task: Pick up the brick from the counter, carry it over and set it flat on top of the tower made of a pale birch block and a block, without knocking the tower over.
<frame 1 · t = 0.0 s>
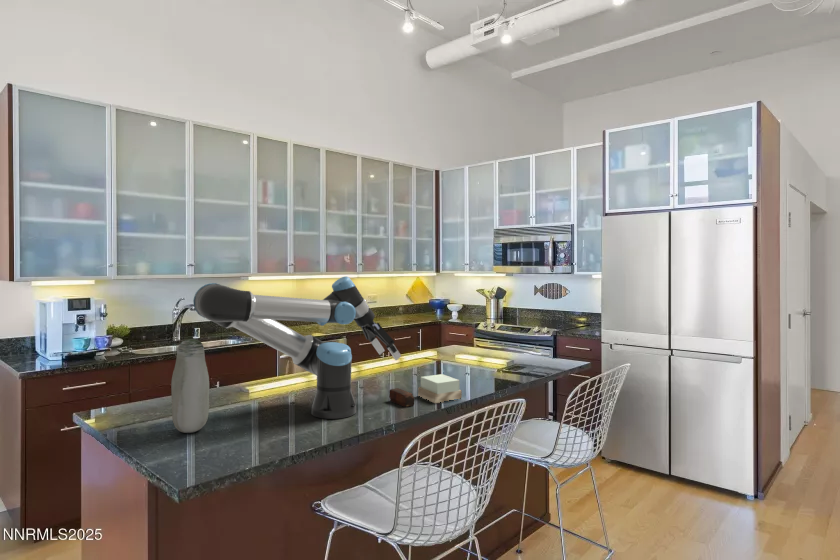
hand: (390, 355, 204), 15 cm above the table, tool tilted 35°, fingers open, 13 cm apart
base block: (439, 399, 200), on the table, touching top block
brick: (401, 404, 191), on the table
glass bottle: (190, 432, 157), on the table
top block: (439, 388, 200), point 3 cm above the table, touching base block
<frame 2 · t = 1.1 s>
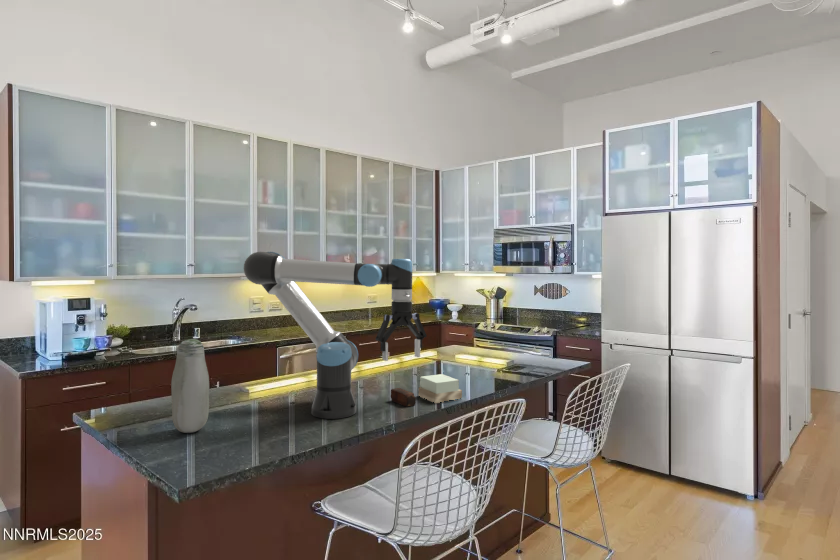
hand: (401, 358, 191), 17 cm above the table, tool pointing down, fingers open, 13 cm apart
nothing on the table moved.
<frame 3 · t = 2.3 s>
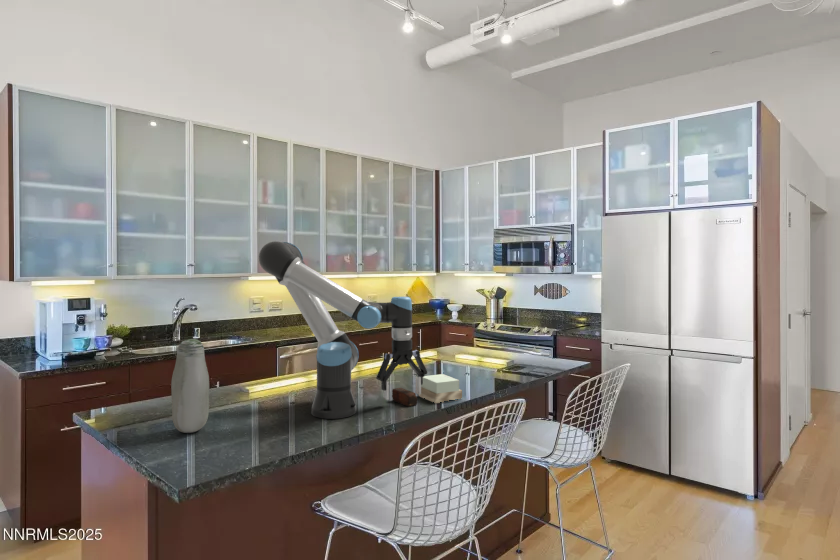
hand: (402, 396, 191), 3 cm above the table, tool pointing down, fingers open, 13 cm apart
base block: (440, 398, 200), on the table
top block: (439, 388, 200), point 3 cm above the table
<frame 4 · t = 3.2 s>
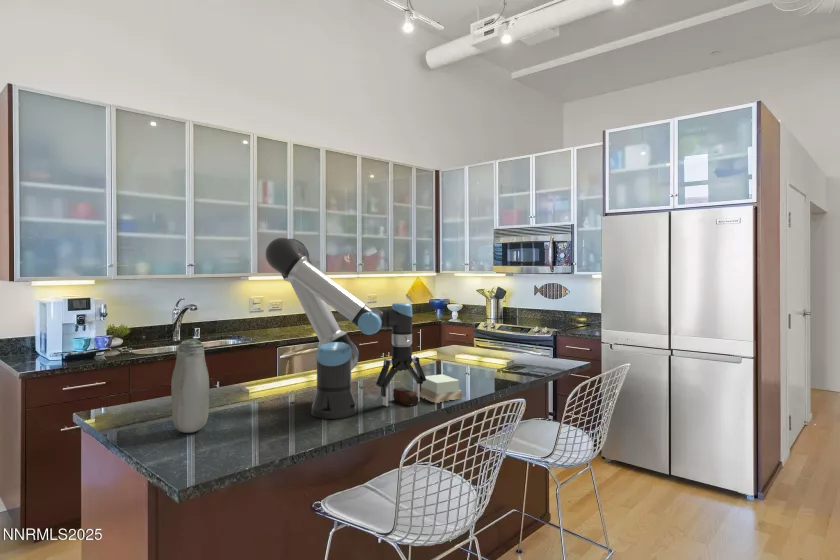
hand: (401, 402, 191), 0 cm above the table, tool pointing down, fingers open, 12 cm apart
base block: (440, 399, 200), on the table, touching top block
top block: (439, 388, 200), point 3 cm above the table, touching base block
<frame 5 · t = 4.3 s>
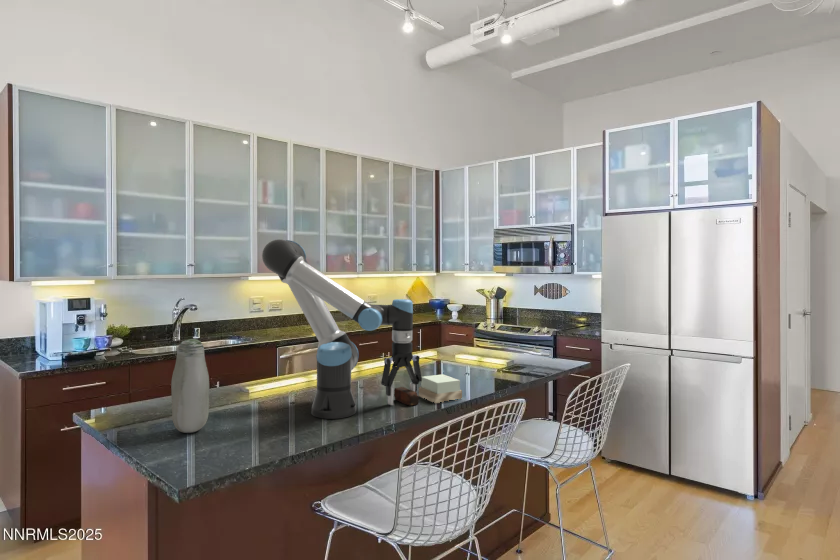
hand: (401, 402, 191), 0 cm above the table, tool pointing down, fingers open, 9 cm apart
brick: (406, 403, 193), on the table, touching gripper
everything else where it was.
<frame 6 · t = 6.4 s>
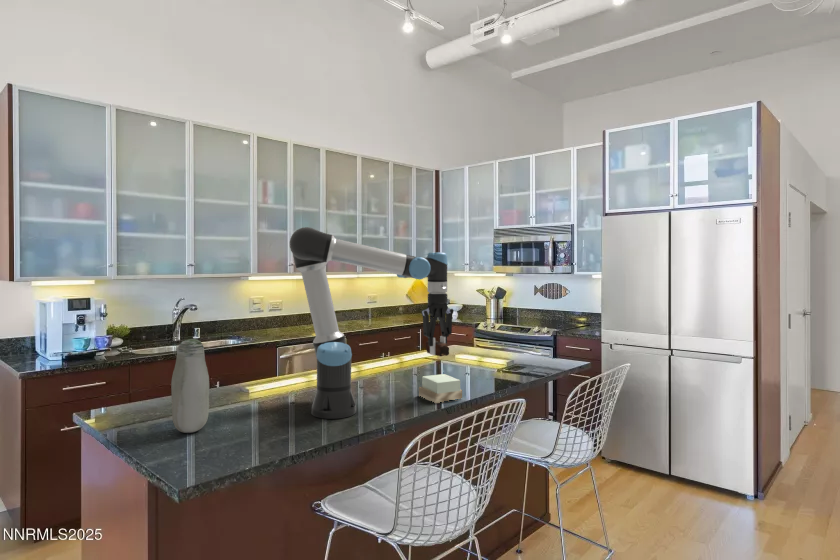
hand: (437, 353, 198), 17 cm above the table, tool pointing down, fingers closed on brick, 4 cm apart
brick: (437, 355, 199), point 17 cm above the table, touching gripper
everything else where it was.
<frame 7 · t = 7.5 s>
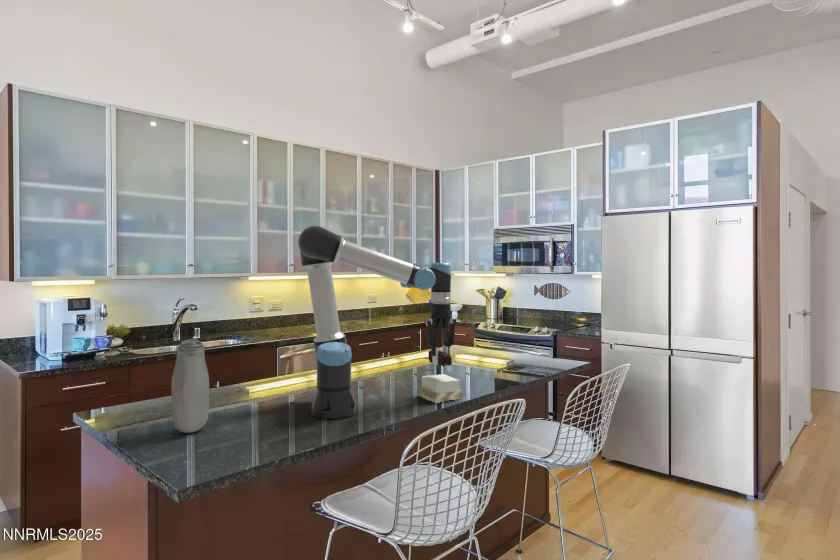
hand: (440, 363, 199), 13 cm above the table, tool pointing down, fingers closed on brick, 4 cm apart
brick: (439, 364, 200), point 13 cm above the table, touching gripper
everything else where it was.
when the fingers open (9 cm above the table, at t = 9.1 s): brick drops 1 cm, resting on top block.
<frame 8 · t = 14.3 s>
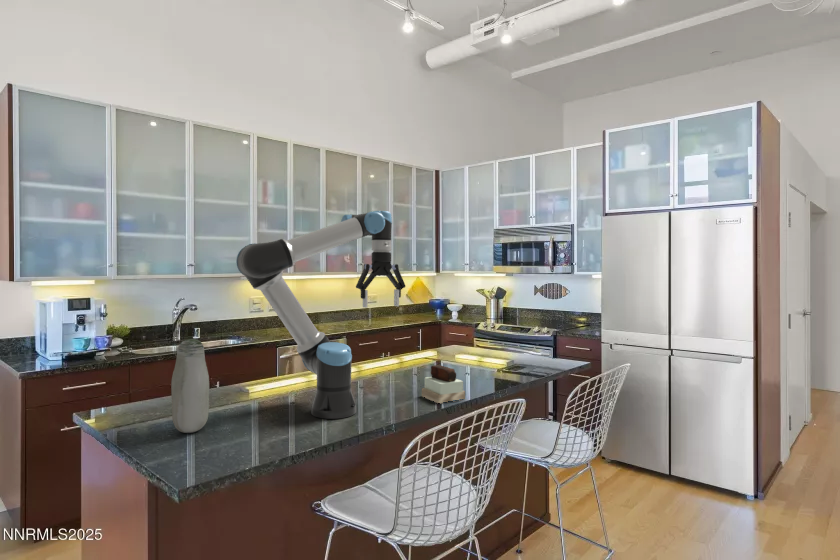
hand: (381, 306, 200), 35 cm above the table, tool pointing down, fingers open, 13 cm apart
base block: (443, 400, 200), on the table, touching top block
brick: (443, 379, 200), point 7 cm above the table, touching top block
top block: (443, 389, 199), point 3 cm above the table, touching base block, brick
everything else where it was.
at the end: brick inside the target area on the base block (0.2 cm from its centre), point 7.8 cm above the base block's base; top block 0.1 cm off-centre on the base block, point 4.0 cm above the base block's base; base block moved 1.6 cm from its start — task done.
